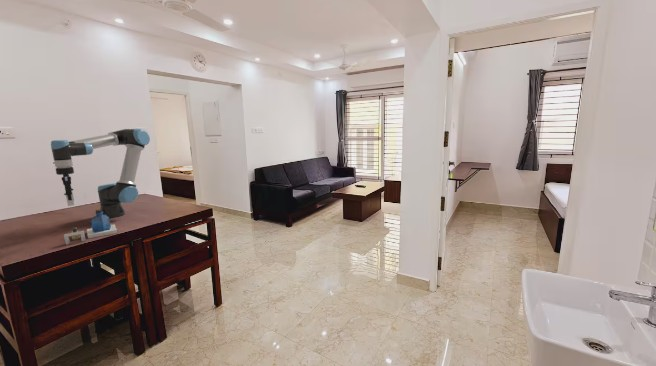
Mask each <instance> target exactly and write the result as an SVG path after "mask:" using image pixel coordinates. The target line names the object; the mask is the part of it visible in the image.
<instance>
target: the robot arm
mask: <svg viewBox="0 0 656 366" xmlns="http://www.w3.org/2000/svg"><path fill="white" fill-rule="evenodd" d="M150 139H151V137H150V134H149V133H148V132H147V131H146V130H145V129H141V128H123V129H120V130H116V131H111V132H108V134H104V135H98V136H92V137H87V138H83V139H77V140H71V141H69V140H67V139H60V140H57V139H55V140H51V141H50V147H51V148H50V149H51V152H52V158H53V162H52V163H53V164H54V167H55V173H56V175H58V176H59V175H60V176H62V177H61V181H62V184H63V186H64V191H65V193H64V194H63V196H65V197H66V202H67V206H68V207H71V206H75V199H74V198H75V197H74V193H73V191H74V188H72V176H70V175H72V174H74V173H75V171H74V167H73V166H74V165H73V159H72V157H75V156H76V157H78V156H88V155H92V154H93V153H94V150H95V149H100V148H103V147H108V146H114V147H117V146H125V147H126V150H125V151H126V152H125V155H124V159H123V164H122V169H121V173H120V178H119V180H118V181H116V182H113V183H107V184H102V185H98V186H97V193H98V199H99V205H100V208H99V210H102V212H103V215H107V216H108V217H109V219H113V218H118V217H122V216H124V215H125V214H126V211H125V208H124V206H123V205H122V203H123V204H129V203H132V202H134V201H135V200H137V198H138V196H139V190H138V188H137V184H136V183H135V180H136V177H137V176H136V175H137V171H138V167H139V163H140V162H139V161H140V158H141V153H142V151H144V150H145V146H147V145H148V144H149V143H150V141H151V140H150Z"/></svg>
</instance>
